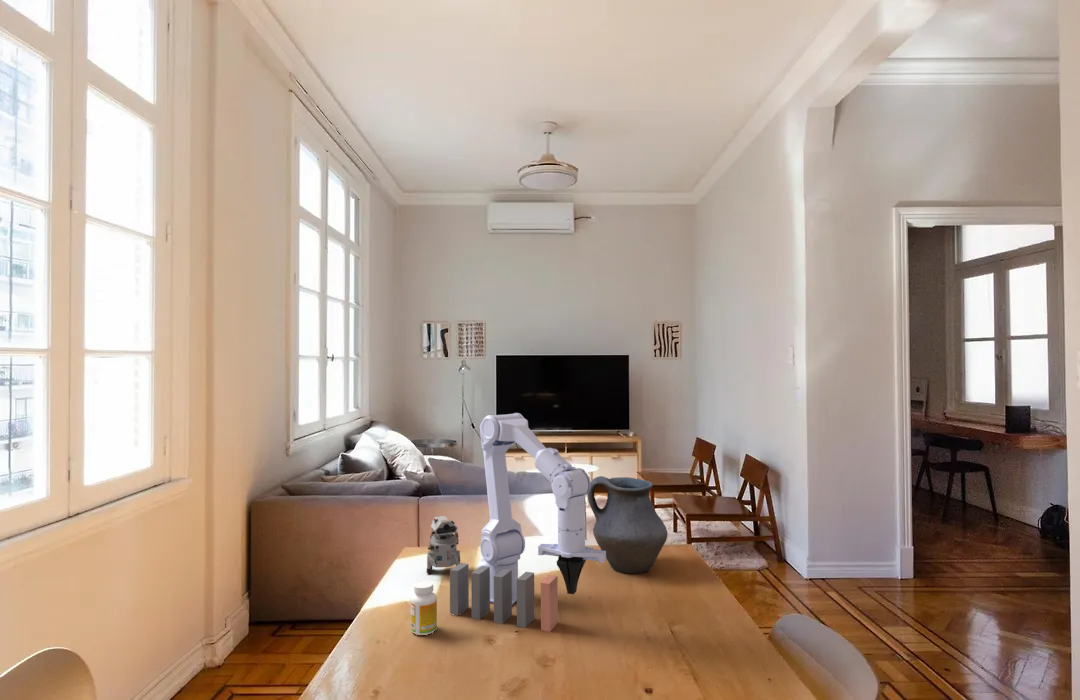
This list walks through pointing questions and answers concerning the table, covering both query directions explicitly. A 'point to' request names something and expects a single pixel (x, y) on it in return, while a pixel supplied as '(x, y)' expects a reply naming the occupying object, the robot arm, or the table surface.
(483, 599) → the domino
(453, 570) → the domino
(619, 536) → the pitcher
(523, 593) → the domino
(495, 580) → the domino
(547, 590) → the red domino
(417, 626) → the supplement bottle
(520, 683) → the table surface
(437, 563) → the figurine
